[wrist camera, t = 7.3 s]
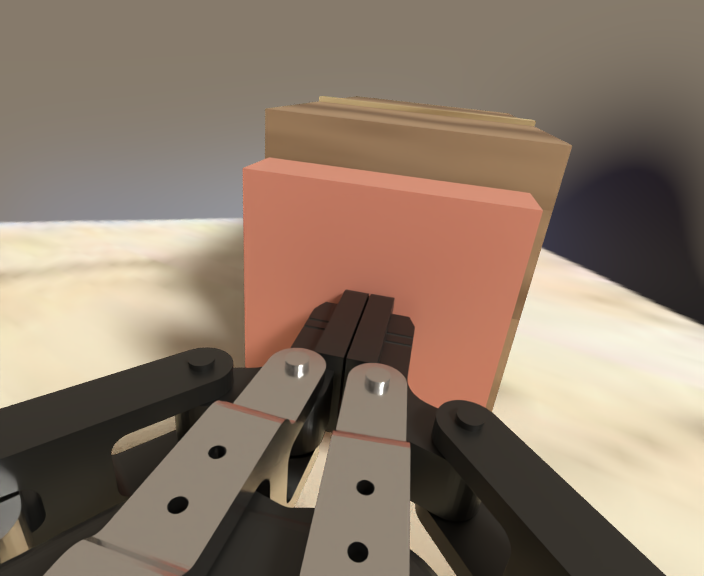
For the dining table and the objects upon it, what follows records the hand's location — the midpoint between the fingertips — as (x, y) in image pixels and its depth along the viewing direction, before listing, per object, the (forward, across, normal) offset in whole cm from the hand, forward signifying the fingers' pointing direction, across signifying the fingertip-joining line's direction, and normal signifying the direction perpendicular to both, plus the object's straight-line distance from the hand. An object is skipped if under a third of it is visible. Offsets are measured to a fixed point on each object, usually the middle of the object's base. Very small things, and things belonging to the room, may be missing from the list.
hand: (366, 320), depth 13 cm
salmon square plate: (+10, 0, +4) cm, 11 cm away
